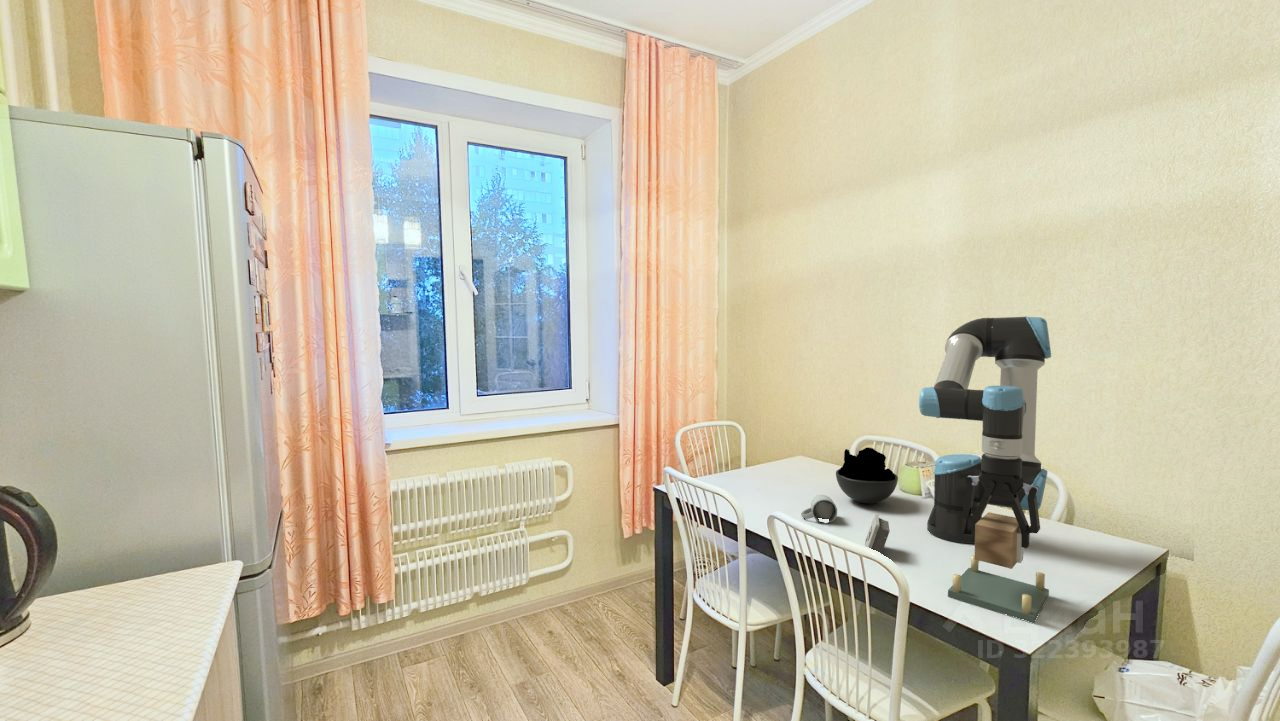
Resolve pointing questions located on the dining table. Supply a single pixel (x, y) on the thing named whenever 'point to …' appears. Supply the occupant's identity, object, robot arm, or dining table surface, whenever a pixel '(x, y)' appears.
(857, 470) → the bowl of black rocks
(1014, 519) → the walnut block
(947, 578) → the dining table surface
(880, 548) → the electrical switch
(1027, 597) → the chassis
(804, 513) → the ceramic mug
